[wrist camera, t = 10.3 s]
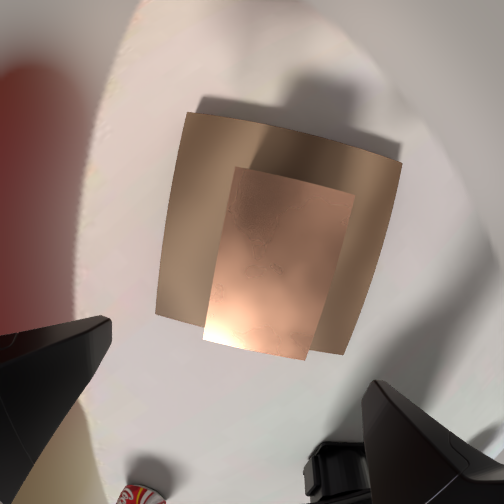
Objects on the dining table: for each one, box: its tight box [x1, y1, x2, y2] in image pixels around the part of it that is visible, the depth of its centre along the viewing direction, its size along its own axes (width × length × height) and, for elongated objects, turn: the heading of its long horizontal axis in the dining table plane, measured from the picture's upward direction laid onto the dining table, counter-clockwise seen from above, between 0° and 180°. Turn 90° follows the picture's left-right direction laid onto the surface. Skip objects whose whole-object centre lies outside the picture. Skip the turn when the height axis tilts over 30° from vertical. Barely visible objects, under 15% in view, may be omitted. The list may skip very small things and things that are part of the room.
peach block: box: [203, 166, 355, 361], centre depth 15 cm, size 8×5×6 cm, turn 168°
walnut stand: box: [155, 112, 402, 355], centre depth 19 cm, size 14×14×2 cm
